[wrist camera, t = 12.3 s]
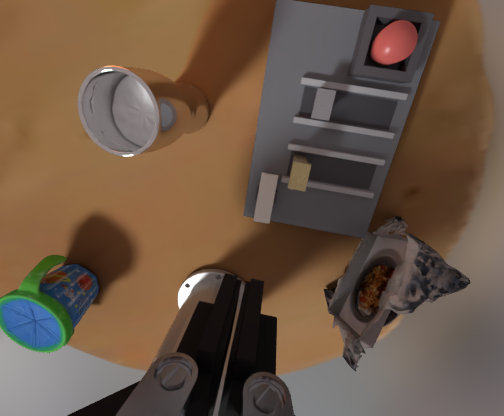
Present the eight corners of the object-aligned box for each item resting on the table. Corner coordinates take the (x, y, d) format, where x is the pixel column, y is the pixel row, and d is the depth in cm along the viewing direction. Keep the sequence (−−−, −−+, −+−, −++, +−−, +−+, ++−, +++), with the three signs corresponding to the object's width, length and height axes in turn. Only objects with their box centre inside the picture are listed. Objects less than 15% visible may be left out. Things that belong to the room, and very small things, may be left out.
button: (395, 68, 28) (409, 64, 25) (363, 64, 28) (373, 59, 25) (406, 32, 27) (423, 22, 23) (373, 27, 27) (385, 17, 23)
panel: (360, 230, 38) (370, 248, 33) (246, 208, 39) (240, 223, 34) (428, 27, 29) (455, 13, 24) (277, 6, 30) (275, -12, 25)
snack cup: (106, 322, 50) (64, 374, 41) (52, 305, 50) (-3, 352, 41) (113, 253, 44) (66, 294, 35) (51, 233, 44) (-12, 269, 35)
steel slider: (324, 118, 30) (328, 120, 28) (308, 116, 31) (311, 117, 28) (331, 91, 29) (336, 90, 26) (314, 89, 30) (317, 87, 27)
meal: (346, 299, 42) (370, 379, 30) (322, 286, 42) (336, 362, 30) (411, 221, 36) (473, 281, 24) (384, 207, 36) (432, 260, 24)
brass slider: (302, 177, 33) (305, 191, 28) (287, 174, 33) (287, 188, 28) (307, 154, 32) (311, 164, 27) (292, 151, 32) (293, 161, 27)
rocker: (269, 222, 35) (269, 223, 34) (253, 219, 35) (253, 220, 34) (278, 175, 33) (278, 175, 32) (262, 172, 33) (261, 172, 33)
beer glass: (223, 103, 34) (178, 104, 20) (193, 147, 36) (135, 176, 22) (177, 65, 33) (96, 39, 19) (150, 113, 35) (61, 122, 22)
